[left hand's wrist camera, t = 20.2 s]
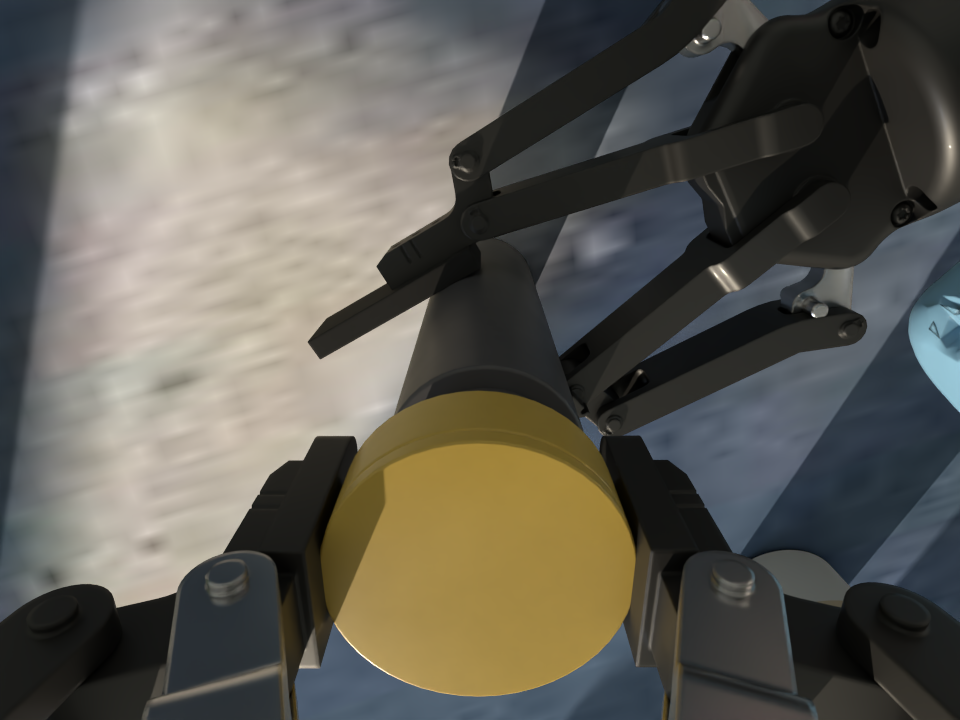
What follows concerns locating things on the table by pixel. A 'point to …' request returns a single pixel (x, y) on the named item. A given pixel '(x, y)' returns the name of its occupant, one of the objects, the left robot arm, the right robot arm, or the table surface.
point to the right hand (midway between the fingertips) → (363, 392)
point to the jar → (489, 338)
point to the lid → (478, 547)
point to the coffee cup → (805, 576)
